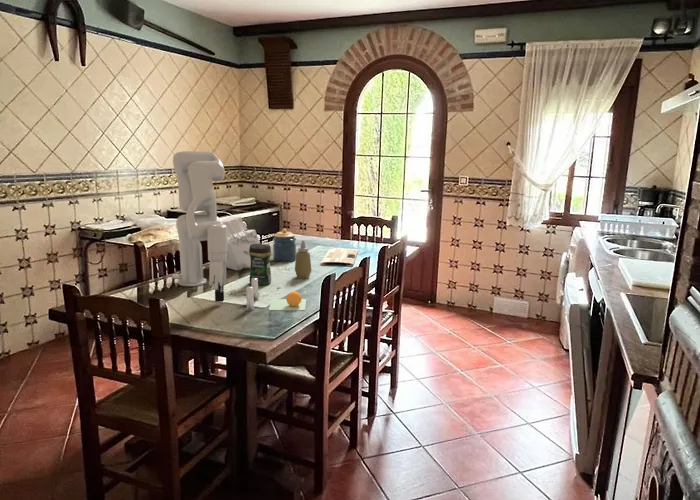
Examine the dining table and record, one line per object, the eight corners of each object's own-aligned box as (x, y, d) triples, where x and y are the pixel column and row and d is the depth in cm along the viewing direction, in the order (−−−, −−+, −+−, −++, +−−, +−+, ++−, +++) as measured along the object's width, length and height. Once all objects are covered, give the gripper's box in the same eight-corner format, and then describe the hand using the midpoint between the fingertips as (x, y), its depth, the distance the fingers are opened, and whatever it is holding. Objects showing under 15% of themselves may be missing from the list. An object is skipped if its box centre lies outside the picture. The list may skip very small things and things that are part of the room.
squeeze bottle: (311, 275, 248) (311, 239, 244) (311, 279, 240) (311, 242, 236) (295, 274, 248) (295, 239, 244) (294, 279, 240) (294, 242, 236)
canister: (298, 257, 286) (298, 227, 283) (293, 262, 274) (293, 230, 270) (276, 256, 287) (275, 226, 284) (270, 261, 275) (269, 230, 271)
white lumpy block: (268, 262, 260) (252, 219, 250) (243, 277, 251) (226, 232, 241) (246, 256, 275) (231, 215, 264) (222, 270, 265) (205, 228, 255)
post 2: (251, 300, 205) (250, 279, 203) (252, 298, 208) (251, 277, 206) (257, 300, 205) (257, 279, 203) (258, 298, 208) (258, 277, 206)
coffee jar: (247, 284, 229) (246, 244, 225) (254, 280, 236) (253, 241, 232) (266, 286, 226) (266, 246, 223) (273, 282, 234) (273, 243, 230)
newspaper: (353, 267, 268) (353, 262, 267) (317, 266, 270) (317, 261, 269) (357, 253, 304) (358, 248, 303) (326, 252, 305) (326, 247, 305)
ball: (303, 304, 196) (289, 310, 196) (305, 300, 201) (291, 306, 202) (296, 290, 195) (282, 297, 195) (298, 287, 201) (284, 293, 201)
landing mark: (268, 310, 193) (268, 309, 193) (272, 299, 207) (272, 299, 207) (304, 310, 194) (304, 309, 194) (306, 299, 208) (306, 299, 208)
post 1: (246, 310, 192) (245, 288, 190) (247, 308, 195) (246, 286, 193) (253, 310, 192) (252, 288, 190) (254, 308, 195) (253, 286, 193)
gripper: (212, 251, 202) (214, 295, 206) (203, 260, 188) (205, 306, 192) (231, 252, 203) (232, 295, 206) (223, 260, 188) (225, 306, 192)
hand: (219, 300), depth 199 cm, fingers closed
